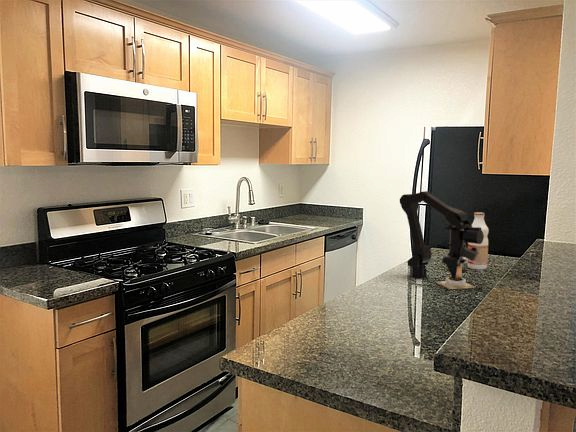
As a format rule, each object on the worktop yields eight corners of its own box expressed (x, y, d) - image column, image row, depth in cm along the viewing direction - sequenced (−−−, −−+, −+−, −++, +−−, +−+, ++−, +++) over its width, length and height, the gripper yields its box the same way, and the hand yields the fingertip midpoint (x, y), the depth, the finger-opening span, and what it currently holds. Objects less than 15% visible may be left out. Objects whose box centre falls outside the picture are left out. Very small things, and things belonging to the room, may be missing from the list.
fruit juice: (481, 270, 227) (483, 214, 224) (463, 267, 234) (465, 212, 231) (490, 267, 233) (493, 212, 230) (473, 264, 240) (475, 211, 237)
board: (449, 291, 191) (449, 289, 191) (435, 283, 203) (435, 281, 203) (476, 290, 193) (476, 287, 193) (461, 282, 205) (461, 280, 205)
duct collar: (451, 287, 194) (451, 281, 193) (442, 282, 201) (443, 277, 201) (468, 286, 195) (468, 280, 194) (459, 281, 202) (459, 276, 202)
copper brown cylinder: (459, 282, 195) (460, 264, 194) (448, 281, 197) (449, 262, 196) (462, 280, 198) (463, 262, 197) (452, 279, 201) (452, 260, 200)
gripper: (470, 246, 184) (468, 284, 185) (482, 239, 198) (481, 275, 200) (442, 243, 190) (441, 280, 192) (456, 237, 205) (455, 271, 207)
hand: (455, 277), depth 198 cm, fingers closed on copper brown cylinder, 4 cm apart
